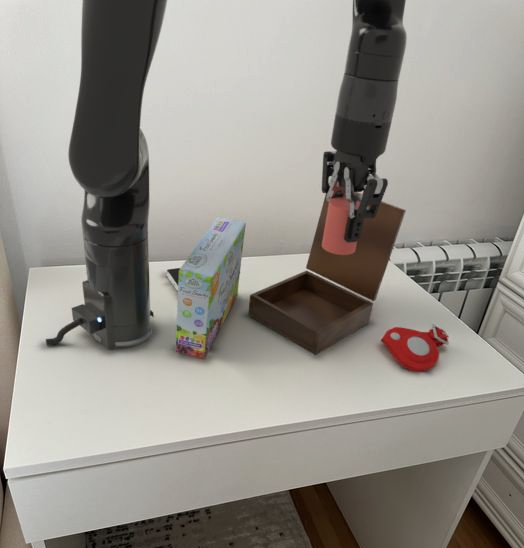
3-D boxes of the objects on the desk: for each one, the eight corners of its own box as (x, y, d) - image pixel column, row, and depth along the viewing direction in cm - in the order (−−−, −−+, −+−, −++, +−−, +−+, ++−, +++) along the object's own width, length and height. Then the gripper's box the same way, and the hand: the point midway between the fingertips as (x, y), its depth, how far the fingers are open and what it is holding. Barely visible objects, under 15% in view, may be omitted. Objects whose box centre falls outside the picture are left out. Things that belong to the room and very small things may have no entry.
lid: (403, 210, 87) (418, 209, 91) (328, 182, 95) (345, 182, 99) (373, 301, 94) (387, 296, 98) (305, 268, 102) (321, 265, 106)
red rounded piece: (433, 375, 84) (378, 341, 86) (421, 390, 88) (369, 357, 90) (459, 329, 91) (407, 299, 93) (447, 344, 94) (398, 315, 97)
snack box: (208, 361, 84) (213, 276, 74) (173, 353, 84) (174, 269, 75) (240, 295, 100) (247, 219, 91) (211, 289, 101) (215, 213, 92)
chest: (315, 355, 88) (319, 333, 85) (248, 315, 96) (250, 294, 93) (368, 323, 97) (373, 303, 95) (303, 289, 106) (306, 270, 103)
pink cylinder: (332, 256, 79) (340, 211, 75) (315, 242, 83) (322, 198, 79) (361, 253, 81) (371, 209, 77) (344, 239, 85) (352, 196, 81)
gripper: (314, 101, 75) (298, 216, 84) (369, 127, 64) (343, 256, 74) (359, 101, 77) (339, 213, 87) (419, 127, 67) (388, 251, 77)
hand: (341, 232), depth 81 cm, fingers closed on pink cylinder, 5 cm apart
